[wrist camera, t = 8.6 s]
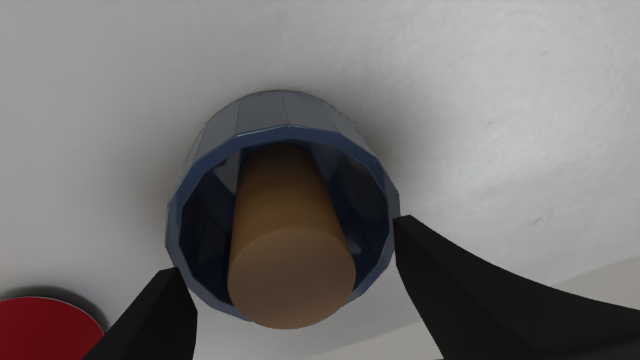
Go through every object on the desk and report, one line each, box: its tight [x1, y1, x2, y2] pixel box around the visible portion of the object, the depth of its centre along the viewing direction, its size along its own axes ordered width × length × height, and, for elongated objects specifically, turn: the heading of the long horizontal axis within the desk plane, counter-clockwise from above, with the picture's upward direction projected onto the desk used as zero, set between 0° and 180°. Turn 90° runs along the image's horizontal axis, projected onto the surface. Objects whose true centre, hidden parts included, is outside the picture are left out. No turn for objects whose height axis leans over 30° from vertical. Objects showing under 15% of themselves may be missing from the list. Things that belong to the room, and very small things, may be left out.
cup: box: [165, 91, 401, 322], centre depth 16 cm, size 9×9×5 cm
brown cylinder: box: [227, 143, 356, 329], centre depth 15 cm, size 4×4×7 cm
